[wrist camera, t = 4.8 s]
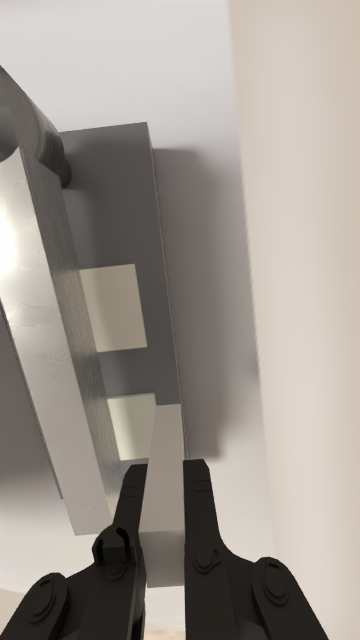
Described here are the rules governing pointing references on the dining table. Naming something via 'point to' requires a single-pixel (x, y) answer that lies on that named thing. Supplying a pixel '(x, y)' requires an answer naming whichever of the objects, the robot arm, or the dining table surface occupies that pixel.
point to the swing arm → (53, 313)
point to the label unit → (122, 279)
